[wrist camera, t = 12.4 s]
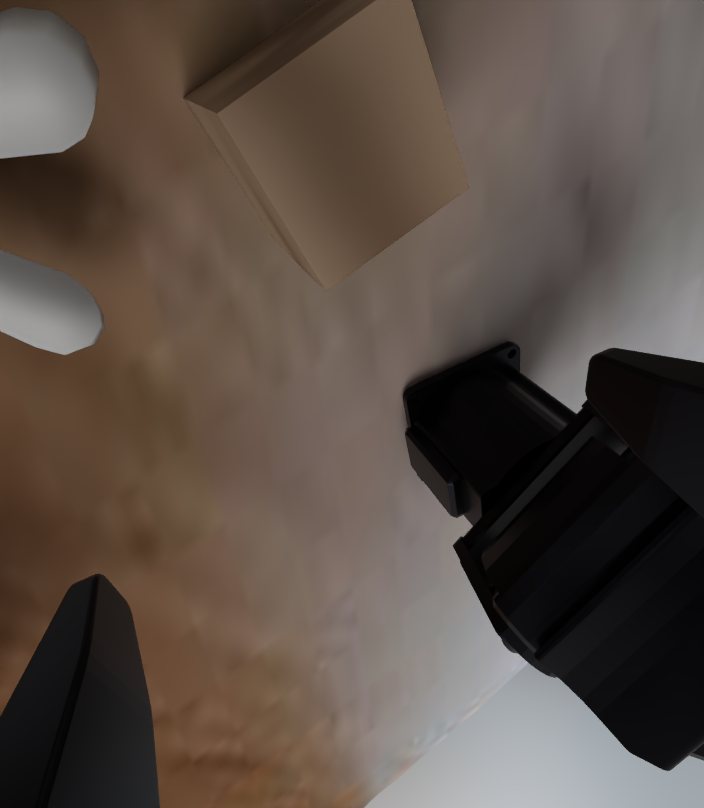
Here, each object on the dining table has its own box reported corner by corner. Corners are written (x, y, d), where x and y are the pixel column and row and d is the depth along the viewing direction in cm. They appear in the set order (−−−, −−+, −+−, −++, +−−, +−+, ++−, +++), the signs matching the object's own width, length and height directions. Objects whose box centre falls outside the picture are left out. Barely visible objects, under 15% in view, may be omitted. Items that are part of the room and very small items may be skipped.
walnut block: (322, -2, 14) (405, -21, 11) (388, 159, 18) (469, 187, 14) (182, 97, 14) (217, 113, 11) (275, 240, 18) (326, 291, 14)
